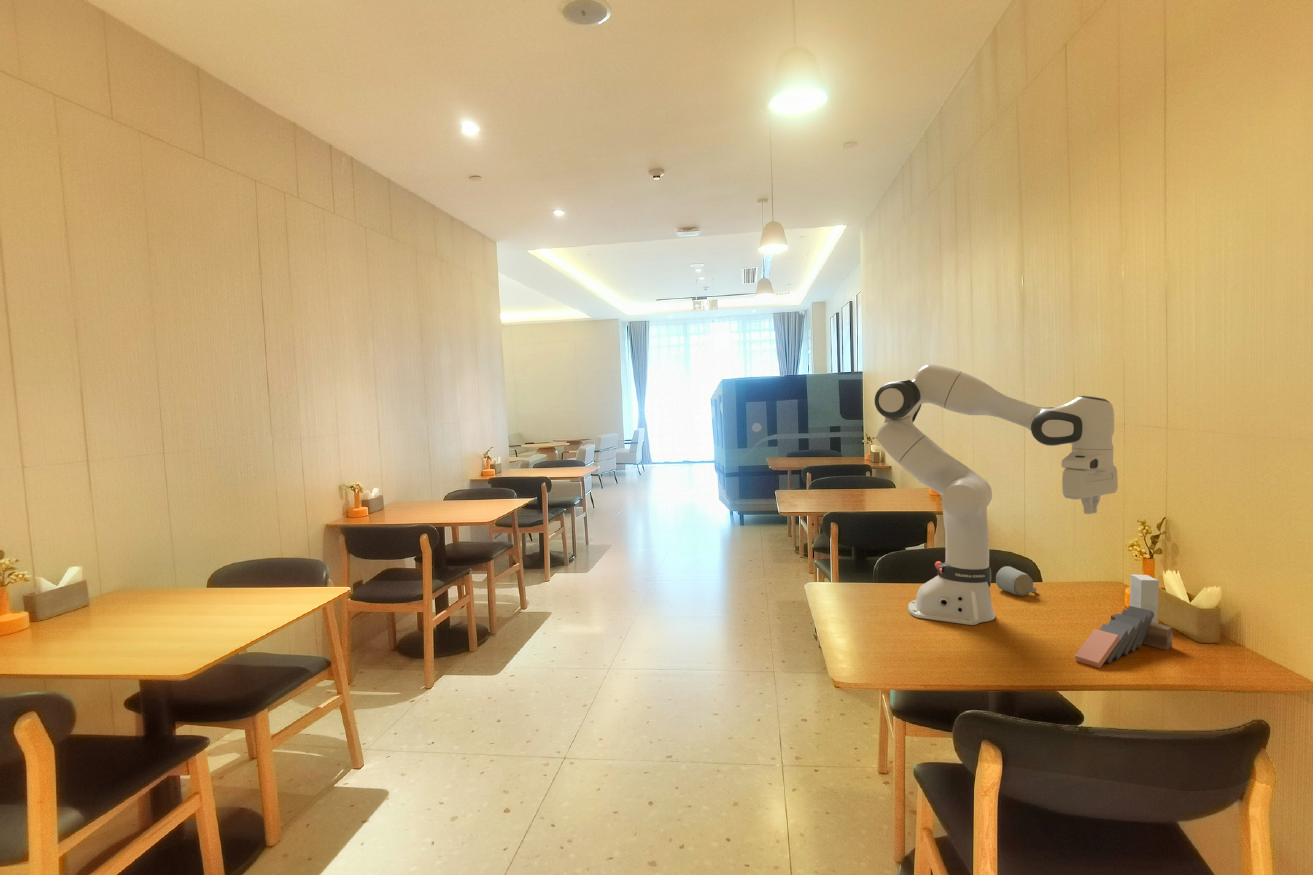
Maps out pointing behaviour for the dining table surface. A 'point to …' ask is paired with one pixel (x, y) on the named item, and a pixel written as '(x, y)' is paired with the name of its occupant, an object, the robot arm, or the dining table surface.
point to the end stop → (1157, 635)
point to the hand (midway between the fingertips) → (1090, 513)
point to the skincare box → (1145, 593)
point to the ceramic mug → (1014, 581)
